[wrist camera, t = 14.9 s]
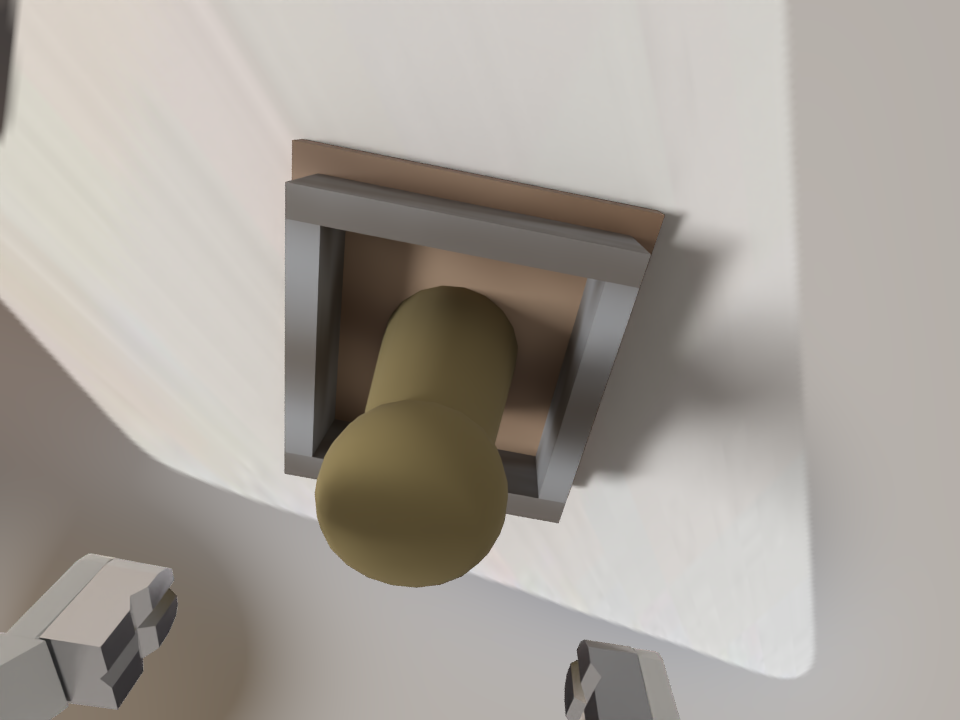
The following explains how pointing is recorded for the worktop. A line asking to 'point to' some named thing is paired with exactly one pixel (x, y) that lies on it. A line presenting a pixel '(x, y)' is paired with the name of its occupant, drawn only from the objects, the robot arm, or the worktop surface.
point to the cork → (424, 445)
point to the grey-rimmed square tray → (460, 263)
